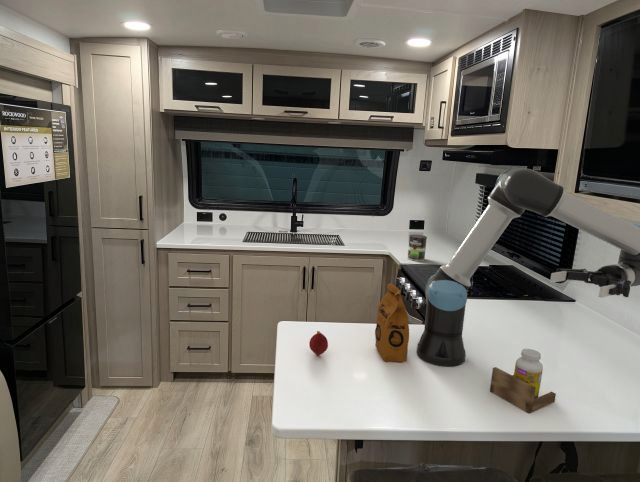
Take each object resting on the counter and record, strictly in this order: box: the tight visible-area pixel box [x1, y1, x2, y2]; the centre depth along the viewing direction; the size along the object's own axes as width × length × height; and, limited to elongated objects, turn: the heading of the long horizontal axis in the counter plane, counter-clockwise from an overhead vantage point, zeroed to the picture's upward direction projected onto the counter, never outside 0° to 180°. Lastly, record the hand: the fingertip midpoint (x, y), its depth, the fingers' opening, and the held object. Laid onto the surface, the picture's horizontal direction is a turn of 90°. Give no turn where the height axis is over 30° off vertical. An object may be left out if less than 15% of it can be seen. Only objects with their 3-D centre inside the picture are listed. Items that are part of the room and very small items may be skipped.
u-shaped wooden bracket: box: [489, 366, 557, 414], centre depth 121 cm, size 12×11×7 cm
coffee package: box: [374, 282, 410, 363], centre depth 141 cm, size 10×12×22 cm
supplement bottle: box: [513, 348, 544, 399], centre depth 121 cm, size 7×7×13 cm
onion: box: [308, 330, 329, 356], centre depth 140 cm, size 6×6×8 cm
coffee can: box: [407, 234, 428, 262], centre depth 270 cm, size 10×10×14 cm
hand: (575, 284), depth 124 cm, fingers open, 13 cm apart
